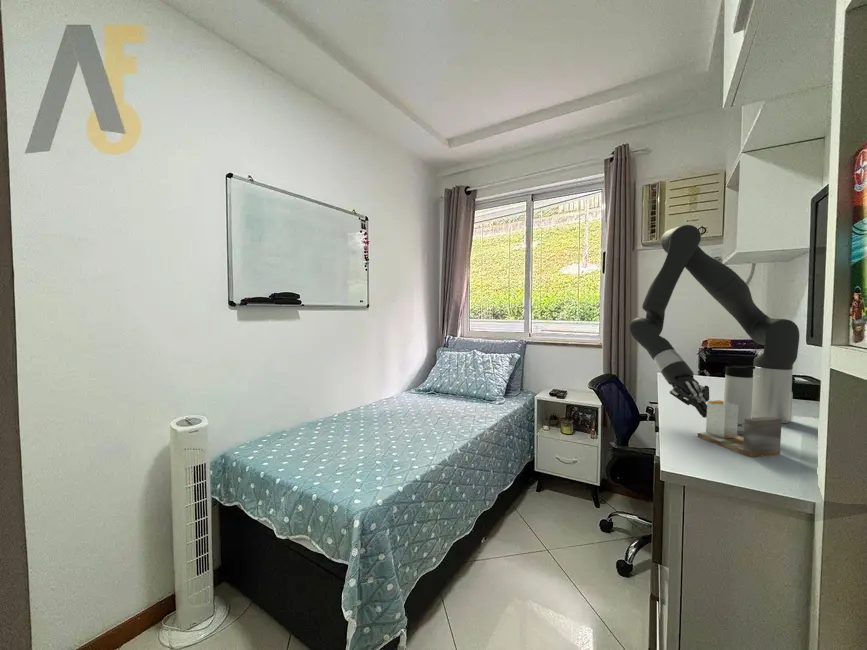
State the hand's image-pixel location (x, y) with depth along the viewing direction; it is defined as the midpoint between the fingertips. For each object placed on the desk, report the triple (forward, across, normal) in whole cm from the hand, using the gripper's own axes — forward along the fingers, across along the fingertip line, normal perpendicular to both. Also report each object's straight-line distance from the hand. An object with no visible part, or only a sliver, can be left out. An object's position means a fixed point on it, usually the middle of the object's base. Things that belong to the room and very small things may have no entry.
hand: (708, 416), depth 101 cm
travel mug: (+4, +11, +4) cm, 12 cm away
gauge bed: (+9, 0, -2) cm, 9 cm away
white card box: (+6, -1, 0) cm, 6 cm away
